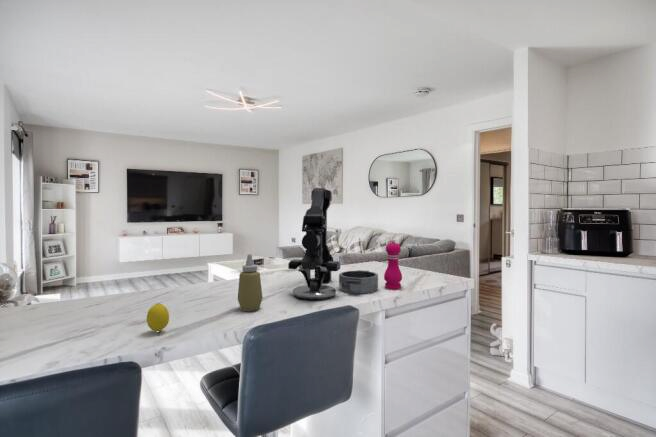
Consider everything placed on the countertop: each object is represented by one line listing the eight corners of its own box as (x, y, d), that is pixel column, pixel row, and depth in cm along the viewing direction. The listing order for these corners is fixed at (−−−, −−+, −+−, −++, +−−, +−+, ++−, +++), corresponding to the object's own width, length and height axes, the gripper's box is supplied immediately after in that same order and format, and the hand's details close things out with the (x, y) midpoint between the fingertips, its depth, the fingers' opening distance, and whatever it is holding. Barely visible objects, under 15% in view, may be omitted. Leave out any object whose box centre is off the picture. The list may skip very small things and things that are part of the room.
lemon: (151, 329, 104) (150, 300, 104) (172, 328, 105) (171, 300, 104) (143, 336, 99) (142, 306, 98) (165, 335, 99) (164, 305, 99)
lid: (286, 299, 134) (286, 282, 134) (301, 289, 150) (301, 273, 149) (329, 302, 130) (329, 285, 130) (340, 291, 145) (340, 276, 145)
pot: (333, 294, 142) (333, 278, 141) (346, 282, 162) (346, 268, 161) (373, 297, 137) (373, 281, 137) (380, 284, 158) (381, 270, 157)
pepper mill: (401, 286, 155) (401, 237, 154) (402, 290, 148) (403, 239, 147) (383, 285, 156) (383, 237, 155) (384, 289, 149) (384, 239, 148)
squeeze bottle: (267, 306, 125) (266, 253, 124) (254, 313, 118) (254, 257, 117) (246, 304, 128) (245, 252, 127) (232, 311, 120) (231, 255, 119)
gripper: (282, 248, 134) (282, 291, 135) (332, 250, 129) (332, 295, 130) (293, 244, 144) (293, 284, 145) (340, 246, 139) (340, 287, 140)
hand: (314, 288), depth 140 cm, fingers closed on lid, 4 cm apart
